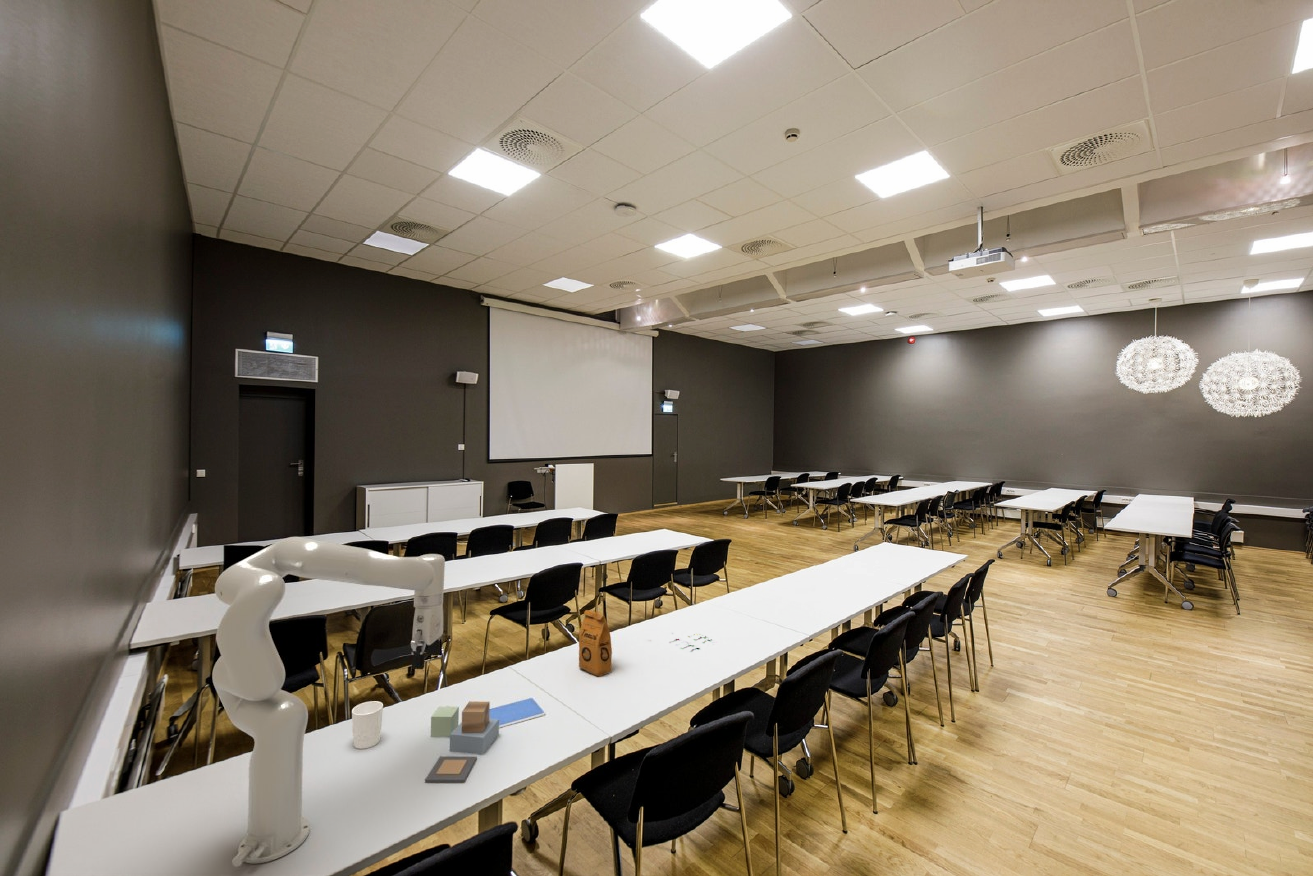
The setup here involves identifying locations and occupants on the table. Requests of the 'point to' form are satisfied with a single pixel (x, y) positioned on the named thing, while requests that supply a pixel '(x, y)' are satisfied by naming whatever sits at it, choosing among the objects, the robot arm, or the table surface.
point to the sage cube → (444, 721)
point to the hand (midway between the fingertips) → (425, 661)
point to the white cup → (367, 724)
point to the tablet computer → (516, 712)
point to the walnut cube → (475, 717)
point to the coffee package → (595, 644)
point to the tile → (451, 769)
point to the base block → (474, 739)
